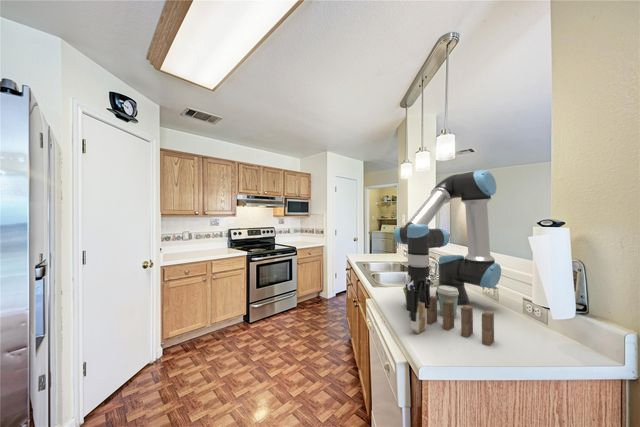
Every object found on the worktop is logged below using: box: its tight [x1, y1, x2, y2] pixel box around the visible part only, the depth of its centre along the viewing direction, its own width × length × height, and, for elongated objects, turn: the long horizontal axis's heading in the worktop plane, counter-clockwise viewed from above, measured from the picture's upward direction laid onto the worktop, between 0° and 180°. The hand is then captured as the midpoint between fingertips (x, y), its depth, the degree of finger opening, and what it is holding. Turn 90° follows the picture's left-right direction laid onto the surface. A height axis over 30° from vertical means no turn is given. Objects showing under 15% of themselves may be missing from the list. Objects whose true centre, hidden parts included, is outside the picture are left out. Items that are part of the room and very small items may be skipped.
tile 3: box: [460, 304, 474, 339], centre depth 84 cm, size 5×2×10 cm, turn 127°
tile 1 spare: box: [412, 302, 426, 334], centre depth 87 cm, size 5×2×10 cm, turn 127°
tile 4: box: [442, 300, 455, 332], centre depth 90 cm, size 5×2×10 cm, turn 127°
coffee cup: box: [436, 286, 459, 319], centre depth 101 cm, size 8×8×12 cm
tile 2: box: [481, 310, 495, 347], centre depth 79 cm, size 5×2×10 cm, turn 127°
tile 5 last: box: [426, 295, 438, 325], centre depth 95 cm, size 5×2×10 cm, turn 127°
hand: (418, 326), depth 87 cm, fingers closed on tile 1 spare, 5 cm apart
